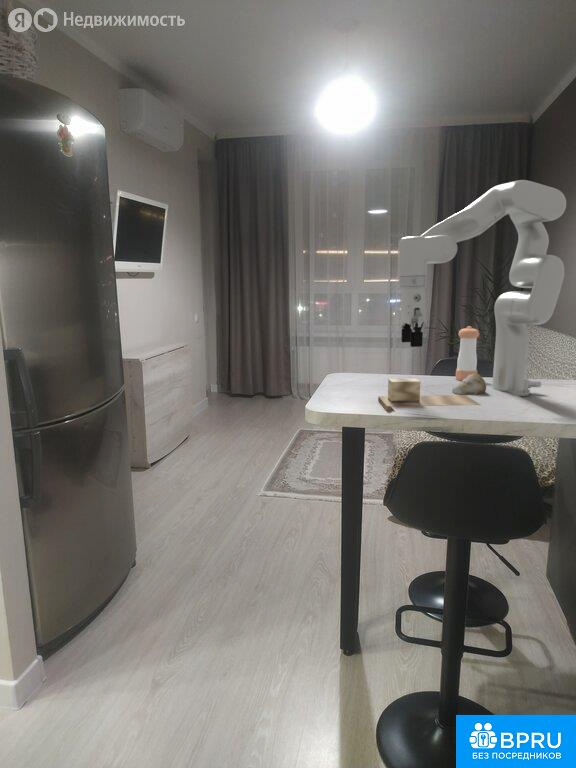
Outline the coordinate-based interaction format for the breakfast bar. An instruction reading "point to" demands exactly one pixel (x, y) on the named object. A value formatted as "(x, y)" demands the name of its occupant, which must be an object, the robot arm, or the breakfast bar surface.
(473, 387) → the beige stone
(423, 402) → the plank
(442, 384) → the breakfast bar surface
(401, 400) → the block
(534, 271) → the robot arm
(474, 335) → the pepper shaker
